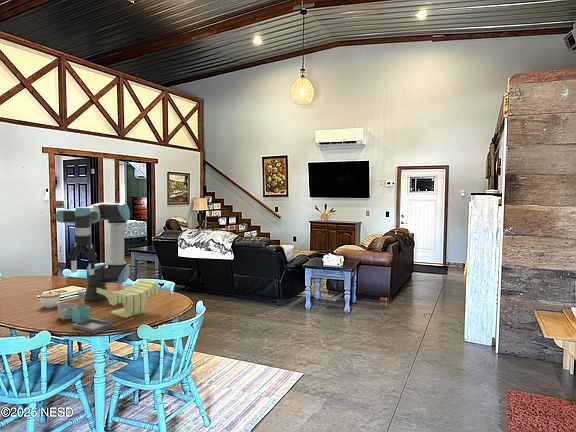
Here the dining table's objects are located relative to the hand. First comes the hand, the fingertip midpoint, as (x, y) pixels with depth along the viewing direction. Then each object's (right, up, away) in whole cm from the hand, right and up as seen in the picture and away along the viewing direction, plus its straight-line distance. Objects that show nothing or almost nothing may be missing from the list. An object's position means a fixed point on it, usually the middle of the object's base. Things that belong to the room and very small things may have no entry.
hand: (82, 273), depth 215 cm
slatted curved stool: (+19, -27, +16) cm, 36 cm away
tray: (+10, -28, -8) cm, 31 cm away
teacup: (-11, -27, +4) cm, 29 cm away
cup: (-1, -27, +1) cm, 27 cm away
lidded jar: (-35, -25, +28) cm, 51 cm away
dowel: (-1, -26, +1) cm, 26 cm away
